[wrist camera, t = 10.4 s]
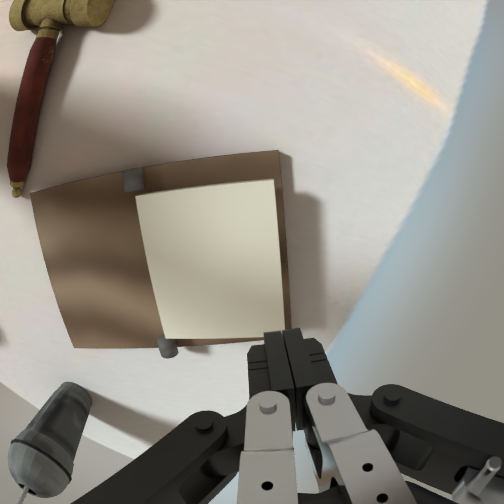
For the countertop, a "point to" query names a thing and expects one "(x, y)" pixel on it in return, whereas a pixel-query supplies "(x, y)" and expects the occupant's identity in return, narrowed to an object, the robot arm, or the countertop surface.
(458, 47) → the countertop surface
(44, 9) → the gavel
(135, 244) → the walnut board
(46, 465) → the beverage cup
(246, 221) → the tile
